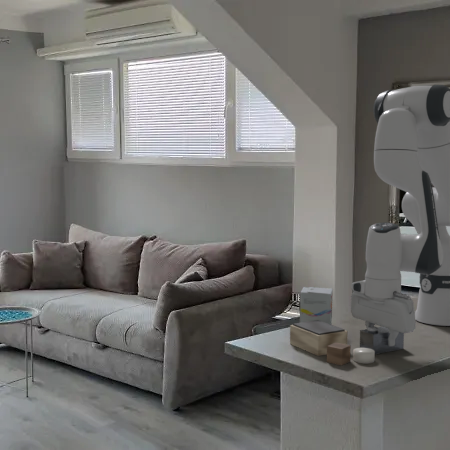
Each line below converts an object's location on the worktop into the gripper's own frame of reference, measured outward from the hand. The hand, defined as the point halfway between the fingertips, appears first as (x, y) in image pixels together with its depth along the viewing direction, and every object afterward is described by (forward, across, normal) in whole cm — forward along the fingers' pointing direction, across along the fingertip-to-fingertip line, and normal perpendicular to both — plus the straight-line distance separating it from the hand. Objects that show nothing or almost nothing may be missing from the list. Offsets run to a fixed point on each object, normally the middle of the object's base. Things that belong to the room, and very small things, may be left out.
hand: (381, 342), depth 175 cm
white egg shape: (+2, -5, +10) cm, 11 cm away
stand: (+2, +9, +13) cm, 16 cm away
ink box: (+2, +22, +4) cm, 22 cm away
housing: (+2, 0, 0) cm, 2 cm away
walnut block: (+2, -3, +16) cm, 16 cm away
